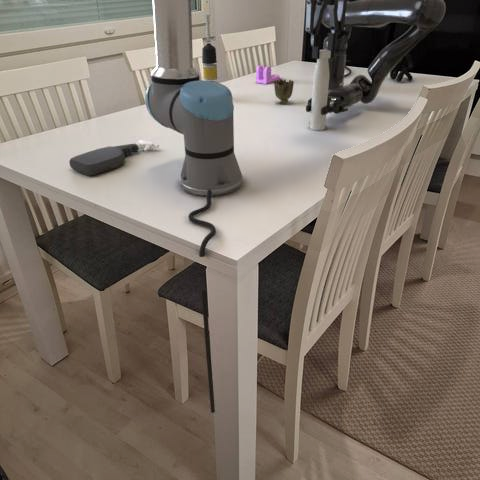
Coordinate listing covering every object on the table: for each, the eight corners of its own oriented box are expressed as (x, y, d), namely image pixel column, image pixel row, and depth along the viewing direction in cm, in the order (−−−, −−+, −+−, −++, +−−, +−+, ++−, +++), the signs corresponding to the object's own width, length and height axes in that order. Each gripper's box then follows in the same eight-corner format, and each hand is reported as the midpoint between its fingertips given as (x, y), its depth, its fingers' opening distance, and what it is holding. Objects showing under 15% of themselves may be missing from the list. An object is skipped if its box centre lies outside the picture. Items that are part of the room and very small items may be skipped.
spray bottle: (67, 168, 120) (139, 144, 136) (91, 178, 114) (163, 151, 130) (65, 157, 118) (137, 134, 134) (89, 167, 112) (162, 142, 128)
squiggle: (400, 92, 202) (376, 71, 205) (417, 76, 202) (392, 56, 205) (405, 81, 191) (380, 59, 194) (423, 64, 191) (397, 42, 194)
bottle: (308, 125, 148) (313, 52, 136) (323, 125, 148) (329, 52, 136) (311, 130, 143) (316, 55, 131) (326, 130, 144) (333, 55, 132)
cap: (319, 59, 132) (319, 52, 131) (312, 56, 135) (313, 50, 134) (333, 58, 133) (333, 51, 132) (326, 55, 136) (326, 49, 136)
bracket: (266, 84, 198) (266, 67, 194) (256, 82, 201) (256, 66, 197) (281, 78, 207) (282, 62, 203) (271, 77, 210) (272, 61, 206)
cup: (270, 104, 170) (270, 82, 166) (278, 99, 176) (278, 78, 171) (288, 106, 167) (289, 84, 163) (295, 101, 173) (296, 80, 168)
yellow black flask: (220, 99, 177) (217, 15, 161) (206, 100, 176) (202, 16, 160) (215, 96, 182) (212, 14, 166) (202, 97, 180) (197, 14, 164)
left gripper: (309, -33, 116) (304, 62, 128) (364, -35, 122) (354, 56, 134) (294, -33, 122) (291, 58, 134) (347, -35, 128) (339, 53, 140)
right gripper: (323, 84, 153) (296, 94, 142) (361, 90, 145) (335, 101, 134) (321, 106, 157) (294, 118, 146) (359, 113, 149) (333, 126, 138)
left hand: (322, 57), depth 134 cm, fingers closed on cap, 4 cm apart
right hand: (314, 110), depth 140 cm, fingers closed on bottle, 5 cm apart
